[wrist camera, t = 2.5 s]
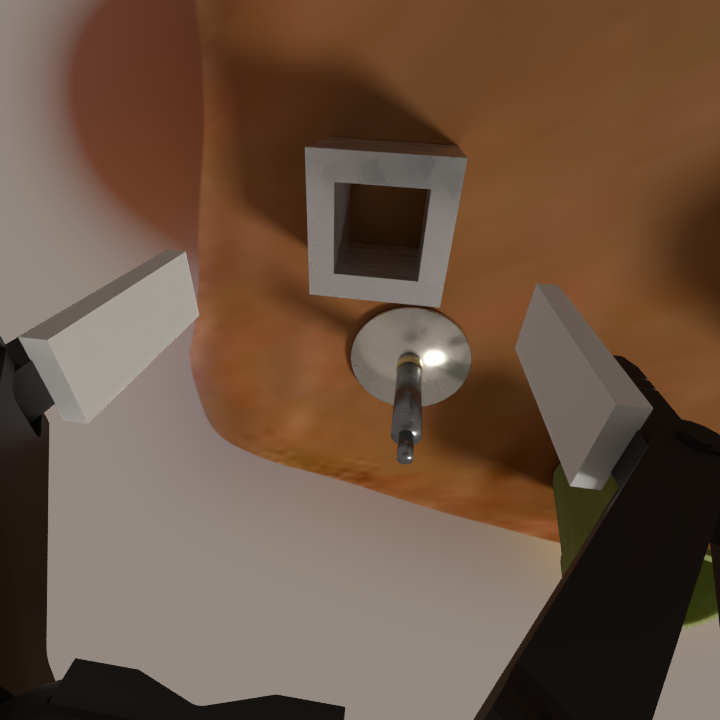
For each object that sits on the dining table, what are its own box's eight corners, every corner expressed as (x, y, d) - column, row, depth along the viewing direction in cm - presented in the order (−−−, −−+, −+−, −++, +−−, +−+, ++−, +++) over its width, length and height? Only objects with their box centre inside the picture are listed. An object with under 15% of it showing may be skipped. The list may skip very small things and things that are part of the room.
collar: (328, 137, 24) (304, 147, 19) (457, 145, 23) (467, 158, 18) (328, 260, 28) (309, 294, 24) (436, 270, 28) (439, 307, 23)
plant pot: (690, 442, 33) (791, 573, 24) (620, 519, 40) (679, 643, 31) (555, 418, 34) (604, 537, 25) (509, 498, 41) (534, 614, 32)
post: (353, 299, 30) (324, 385, 21) (482, 312, 29) (509, 408, 20) (350, 396, 36) (325, 496, 27) (457, 409, 35) (470, 518, 26)
